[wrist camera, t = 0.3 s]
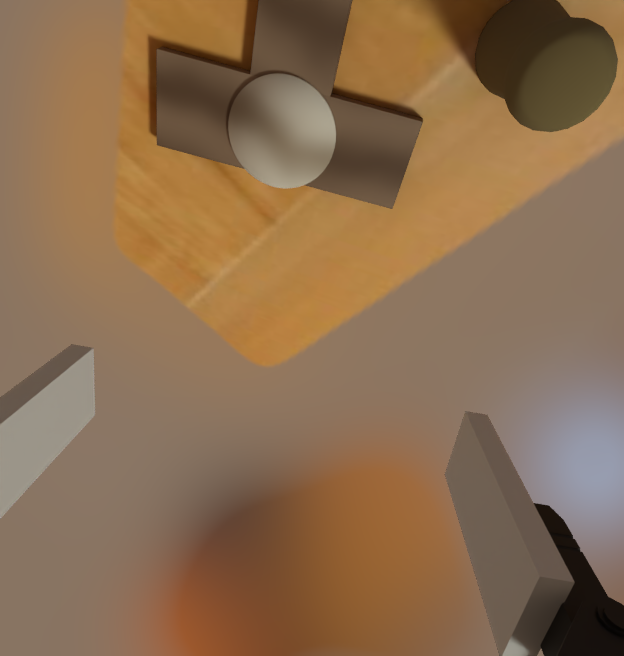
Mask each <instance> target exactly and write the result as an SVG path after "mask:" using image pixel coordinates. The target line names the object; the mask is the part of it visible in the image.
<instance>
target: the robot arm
mask: <svg viewBox="0 0 624 656" xmlns="http://www.w3.org/2000/svg"><path fill="white" fill-rule="evenodd" d="M94 415H95V394H94V352H93V348H90V347H84V346H78V345H73V344H71V345H70V346H69V347H68V348H66V349H65V350H63V351H62V352H61V353H59V354H58V355H57V356H55V357H54V358H53V359H51V360H50V361H49V362H47V363H46V364H45V365H43V366H42V367H41V368H39V369H38V370H37V371H35V372H34V373H32V374H31V375H30V376H28V377H27V378H26V379H24V380H23V381H22V382H20V383H19V384H18V385H16V386H15V387H14V388H12V389H11V390H10V391H8V392H7V393H6V394H4V395H3V396H1V397H0V518H1V517H2V516H3V515H4V514H5V513H6V512H7V511H8V510H9V509H10V507H11V506H12V505H13V504H14V503H15V502H16V501H17V500H18V499H19V497H20V496H21V495H22V494H23V493H24V492H25V491H26V490H27V489H28V488H29V487H30V486H31V484H32V483H33V482H34V481H35V480H36V479H37V478H38V477H39V476H40V475H41V473H42V472H43V471H44V470H45V469H46V468H47V467H48V466H49V465H50V463H51V462H52V461H53V460H54V459H55V458H56V457H57V456H58V455H59V453H61V451H62V450H63V449H64V448H65V447H66V446H67V445H68V444H69V443H70V442H71V441H72V439H73V438H74V437H75V436H76V435H77V434H78V433H79V432H80V431H81V429H83V427H84V426H85V425H86V424H87V423H88V422H89V421H90V420H91V419H92V418H93V417H94ZM445 477H446V480H447V484H448V487H449V490H450V493H451V497H452V500H453V503H454V507H455V510H456V513H457V517H458V520H459V523H460V526H461V530H462V533H463V537H464V540H465V543H466V546H467V550H468V553H469V556H470V559H471V563H472V566H473V569H474V573H475V576H476V579H477V583H478V586H479V590H480V593H481V596H482V599H483V603H484V606H485V609H486V613H487V616H488V619H489V623H490V625H491V629H492V632H493V636H494V639H495V642H496V646H497V649H498V653H499V656H537V654H538V652H539V651H540V649H542V651H543V654H544V656H624V605H622V604H621V603H619V602H617V601H615V600H613V599H611V598H609V597H608V596H607V594H606V592H605V590H604V589H603V587H602V585H601V584H600V582H599V580H598V578H597V577H596V575H595V574H594V572H593V570H592V568H591V566H590V565H589V563H588V561H587V559H586V558H585V556H584V554H583V553H582V552H580V547H579V546H578V544H577V542H576V540H575V539H573V535H572V534H571V532H570V530H569V529H568V527H567V525H566V523H565V522H564V520H563V519H562V518H561V517H560V516H559V515H558V514H557V513H556V512H555V511H554V510H553V509H552V508H551V507H550V506H548V505H542V504H535V503H533V501H532V500H531V498H530V496H529V494H528V492H527V490H526V488H525V486H524V484H523V482H522V480H521V479H520V477H519V475H518V473H517V471H516V469H515V467H514V465H513V463H512V462H511V459H510V458H509V456H508V454H507V452H506V450H505V448H504V446H503V444H502V442H501V441H500V438H499V437H498V435H497V433H496V431H495V429H494V427H493V425H492V423H491V421H490V419H489V417H488V416H487V415H485V414H478V413H473V412H467V411H465V414H464V417H463V420H462V423H461V426H460V429H459V433H458V435H457V438H456V442H455V445H454V448H453V451H452V454H451V457H450V460H449V463H448V466H447V469H446V472H445Z"/></svg>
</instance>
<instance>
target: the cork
mask: <svg viewBox="0 0 624 656" xmlns="http://www.w3.org/2000/svg"><path fill="white" fill-rule="evenodd" d="M475 60H476V71H477V73H478V76H479V78H480V81H481V83H482V84H483V85H484V86H485V87H486V88H487V89H488V90H489V92H491V93H493V94H495V95H497V96H499V97H501V98H504V99H505V101H506V104H507V107H508V109H509V111H510V113H511V114H512V115H513V117H514V118H515V119H516V120H517V121H518V122H519V123H520V124H521V125H524V126H526V127H528V128H530V129H532V130H536V131H546V132H554V131H559V130H563V129H568V128H570V127H572V126H574V125H576V124H578V123H580V122H582V121H584V120H585V119H586V118H587V117H588V116H590V115H591V114H592V113H593V112H594V111H595V110H597V109H598V107H599V106H600V105H601V103H602V102H603V101H604V99H605V98H606V97H607V95H608V94H609V92H610V90H611V87H612V85H613V82H614V80H615V77H616V71H617V61H618V58H617V54H616V50H615V46H614V42H613V39H612V38H611V37H610V35H609V34H608V33H607V31H606V30H605V29H604V28H603V27H602V26H600V25H598V24H596V23H594V22H593V21H591V20H589V19H585V18H573V17H570V16H569V15H568V13H567V12H566V11H565V9H564V8H563V7H562V6H561V4H560V3H559V2H557V1H555V0H513V1H511V2H510V3H508V4H506V5H505V6H503V7H502V8H500V9H499V10H498V11H497V12H496V13H495V15H494V16H493V17H492V18H491V19H490V20H489V21H488V22H487V24H486V26H485V28H484V30H483V32H482V33H481V35H480V37H479V40H478V45H477V49H476V53H475Z"/></svg>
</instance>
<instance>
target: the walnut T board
mask: <svg viewBox="0 0 624 656" xmlns="http://www.w3.org/2000/svg"><path fill="white" fill-rule="evenodd" d="M351 4H352V0H259V2H258V11H257V20H256V29H255V37H254V46H253V55H252V64H251V71H248V70H245V69H241V68H237V67H234V66H230V65H227V64H223V63H219V62H216V61H212V60H208V59H205V58H201V57H197V56H194V55H190V54H186V53H183V52H179V51H176V50H172V49H168V48H165V47H160V48H157V145H158V146H162V147H166V148H169V149H173V150H177V151H181V152H184V153H188V154H192V155H195V156H199V157H203V158H206V159H210V160H214V161H217V162H221V163H225V164H228V165H232V166H236V167H240V168H243V169H245V170H246V171H247V172H248V173H249V174H251V175H252V176H253V177H254V178H256V179H257V180H259V181H261V182H263V183H265V184H267V185H270V186H273V187H278V188H295V187H300V186H303V185H306V186H310V187H313V188H317V189H321V190H324V191H328V192H332V193H335V194H339V195H343V196H346V197H350V198H354V199H357V200H361V201H365V202H368V203H372V204H376V205H380V206H383V207H387V208H391V209H392V208H393V206H394V203H395V200H396V197H397V194H398V191H399V188H400V186H401V183H402V180H403V177H404V174H405V171H406V168H407V166H408V163H409V160H410V157H411V154H412V151H413V148H414V146H415V143H416V140H417V137H418V134H419V131H420V128H421V126H422V123H423V119H422V118H420V117H416V116H412V115H409V114H405V113H401V112H398V111H394V110H390V109H387V108H383V107H379V106H376V105H372V104H369V103H365V102H361V101H358V100H354V99H350V98H347V97H343V96H339V95H336V94H332V90H333V86H334V81H335V77H336V72H337V68H338V63H339V58H340V54H341V49H342V45H343V40H344V36H345V31H346V27H347V22H348V18H349V13H350V9H351Z"/></svg>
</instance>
